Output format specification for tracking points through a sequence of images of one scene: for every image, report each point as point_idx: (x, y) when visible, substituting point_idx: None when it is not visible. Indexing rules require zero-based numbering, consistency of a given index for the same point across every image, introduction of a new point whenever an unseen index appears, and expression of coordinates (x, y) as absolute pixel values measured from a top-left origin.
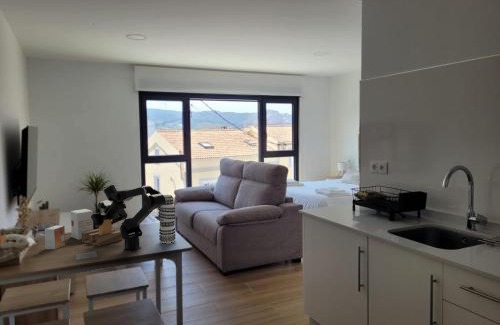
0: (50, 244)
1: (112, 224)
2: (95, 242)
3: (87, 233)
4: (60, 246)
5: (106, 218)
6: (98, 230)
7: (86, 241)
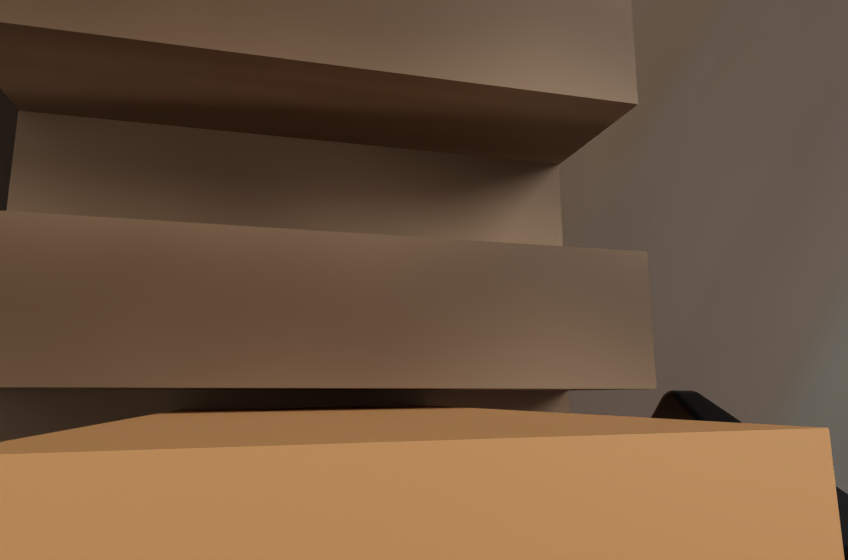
0: None
1: None
2: None
3: (44, 38)
4: None
5: None
6: (388, 75)
7: (14, 169)
